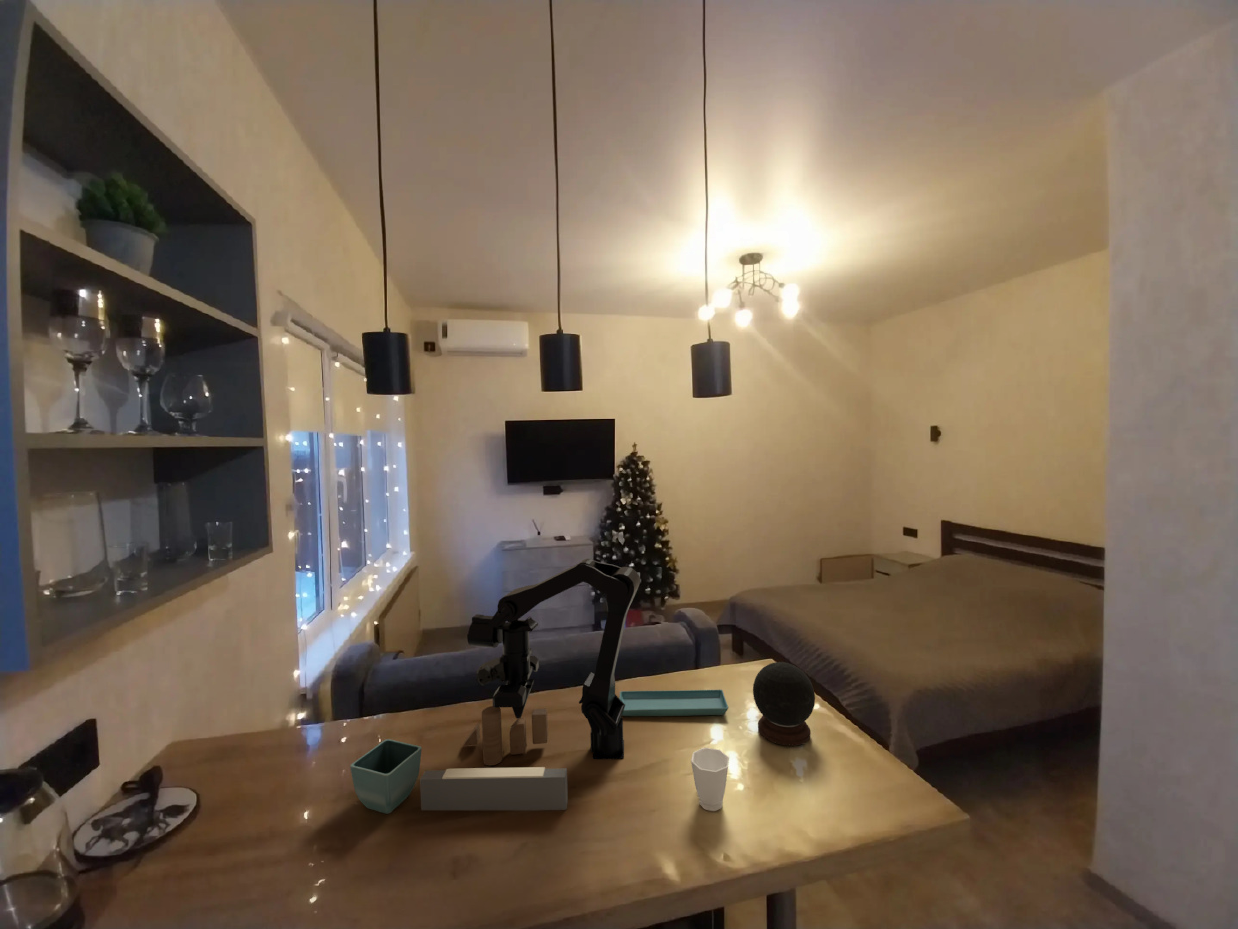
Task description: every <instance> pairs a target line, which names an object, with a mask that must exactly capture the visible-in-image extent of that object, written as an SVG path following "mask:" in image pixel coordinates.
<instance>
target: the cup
mask: <svg viewBox="0 0 1238 929" xmlns="http://www.w3.org/2000/svg"><path fill="white" fill-rule="evenodd" d="M729 761H730V757H729V756H728V755H727V754H726V753H724V752H723V751H722V750H721V749H716V748H709V747H702V748H701V747H700V749H697V750H695V751H693V752H692V755H691V760H690V763H691V770H692V773H693V781H694V786H695V791H696V793H697V797H698V798H699V799H698V804H699V805H700V806H701V807H702V809H704V810H706V811H710V812H716V811H718V810H720V809H722V808H723V804H724V795H725V791H726V786H727V777H728V770H729V763H730V762H729Z"/></svg>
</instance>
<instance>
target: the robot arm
mask: <svg viewBox="0 0 1238 929" xmlns="http://www.w3.org/2000/svg"><path fill="white" fill-rule="evenodd" d="M640 581H641V578H640V575H639V573H638V571H636V570H635V569H634V568H632V567H630V566H622V567H620V566H618V565H616V564H615V565H614V564H610V563H606V562H605V563H604V562H600V561H596V560H593V559H591V558H585V559H583V560H582V561H580V562H579V563H576V564H575V565H573V566H570V567H569V568H567V569H565V570H563V571H561V572H559V573H556V574H555V575H552V576H551V577H549V578H547V579H544V580H543V581H541V582H539V583H535V584H529V585H525V586H524V585H523V586H521V587H517V588H514V589H513V590H511V591H510V592H509V593H507V594H505V595H504V596H503V597H501V598H500V599H499V600H498V603H497V610H496V612H495V614H494V615H484V614H480V613H479V614H475V615H474V616H472V617H471V623H470V626H469V628H468V632H467V635H466V638H467V640H466V641H467V642H468V645H469V646H470V647H478V648H479V647H480V648H493V649H495V648H497V647H498V646H499V645H500V644H501V643H502V655H501V656H500V657H497V658H494V659H491V660H489V661H486V662H483V663H482V664H481V665H480V666H479V668H478V669H477V670H476V674H475V675H476V679H475V680H476V682H477V683H479V684H480V685H481V686H487V684H489V683H492V682H494V681H496V680H499V683H505V684H501V685H500V686H498V688H496V689H495V692H494V694H493V696H492V706H493V707H495V708H498V707H500V708H511V709H512V711H513V714H514V716H515V719H518V718H522V716H523V714H524V710H525V707H526V704H527V701H528V699H529V696H530V693H531V689H532V688H533V685H534V681H535V679H534V678H530V676H531V675H532V672H534V673H538V670H539V668H540V665H539V664H540V663H539V658H538V657H537V656H535V655H532V652H533V651H532V648H531V647H530V632H533V631H534V630H535V629H536V628H537V627H538V626H539V623H538V622H537V621H535V620H534V619H533V618H532V617H531V616H528V617H527V618H526V619H520V618H522V617H523V616H525V614H527V613H529V612H530V611H531V610H532V609H534V608H535V607H537V606H538V605H539V604H540V603H542V602H545V601H546V600H549V599H550V598H553V597H555V596H557V595H559V594H561V593H563V592H565V591H567V590H569V589H571V588H574V587H575V586H578V585H580V584H581V583H585V584H588V585H590V586H591V587H592V588H594V589H596V590H598V591H599V592H601V593H604V594H605V595H606V596H605V598H606V601H605V602H606V609H607V613H606V614H607V615H606V618H605V624H604V629H603V633H602V638H601V641H600V642H601V643H600V648H599V653H598V658H597V662H596V667H595V671H594V672H589V674H588V677H586V679H585V681H584V682H583V683H582V684H583V685H582V690H581V691H582V692H581V698H580V699H579V701H578V704H580V705H581V708H580V710H581V713H582V714H583V715H584V718H586V719H587V721H588V724H589V726H590V733H589V734H590V736H589V738H590V752H591V753H592V759H593V760H597V761H598V760H624V759H625V739H624V719H623V717H622V713H623V711H624V708H625V704H624V703H623V702H622V701H621V700H620V699H619V697H618V696H617V694H616V679H615V678H616V677H615V670H616V665H617V661H618V657H619V652H620V648H621V642H622V638H623V633H624V629H625V625H626V620H627V616H628V612H629V609H630V606H631V604H632V603H633V600H634V598H635V596H636V594H637V591H638V590H639V587H640V584H641V582H640Z"/></svg>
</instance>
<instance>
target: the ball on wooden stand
mask: <svg viewBox="0 0 1238 929" xmlns="http://www.w3.org/2000/svg"><path fill="white" fill-rule="evenodd" d="M752 686H753V688H752V694H753V700H754V702H755V703H754V704H755V705H756V707H757V709H758V711H759V713H761V715H762V716H761V718H759V720H758V721H757V728H758V733H759V734H760V735H761V736H762V737H763V738H765V739H766V740H768V741H770V742H772V743H775V744H777V745H781V746H789V747H790V746H792V747H793V746H799V745H803V744H805V743H807V742H808V741H809V740H810V738H811V735H812V734H811V731H812V730H811V728H810V726H809V725H808V724H807V722H806V721H807V720H808V719H809V718H810V716H811V714H812V713H813V712H814V708H815V703H816V702H815V701H816V694H815V690H814V685H813V683H812V682H811V680H810V678H809V677H808V675H807V674H806V673H805V672H804V671H803V670H802V669H800V668H799V667H797V666H796V665H794V664H792V663H789V662H784V661H775V662H771V663H769V664H767V665H765V666H764V667H762V668H761V669H760V670H759V671H758V673H757V675H756V676H755V678H754V682H753V685H752Z"/></svg>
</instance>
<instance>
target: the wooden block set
mask: <svg viewBox="0 0 1238 929" xmlns="http://www.w3.org/2000/svg"><path fill="white" fill-rule="evenodd" d="M526 723H527V722H526V717H521V718H516V720H515V721H514V722H513V723H512V725H511V726H510V730H509V752H510V753H509V754H510V755H521V754H522V755H525V754H526V750H527V725H526ZM548 724H549V722H548V709H547V708H536V709H532V713H531V728H532V730H531V731H532V736H531V737H532V744H533V745H543V744H547V743H548V740H549V728H548V727H549V725H548ZM481 728H482V729H481ZM481 728H480V722H477V724H476V725H475V727H474V728H473V729H472V730H471V731H470V733H469V734H468V735H467V737H466V738H465V740H464V742H463V744H462V746H463V747H467V746H477V745H478V743H479V740H480V737H481V735H482V753H483V754H482V757H483V763H484V765H486V766H487V767H488V766H489V767H490V766H496V765H498V764H500V763H501V762H502V760H503V757H504V756H503V752H504V751H503V735H502V734H503V732H502V731H503V730H502V729H503V728H502V709H501V707H498V708H495V707H493V705H491V706H488V707H485V708H483V710H482V711H481ZM480 730H482V734H481V732H480Z"/></svg>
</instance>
